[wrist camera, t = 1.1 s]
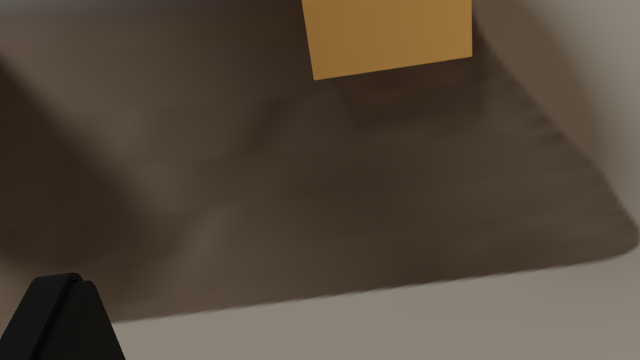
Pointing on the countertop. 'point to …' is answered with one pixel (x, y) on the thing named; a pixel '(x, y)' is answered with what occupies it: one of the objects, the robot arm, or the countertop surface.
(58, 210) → the countertop surface
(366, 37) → the tan cardboard carton
